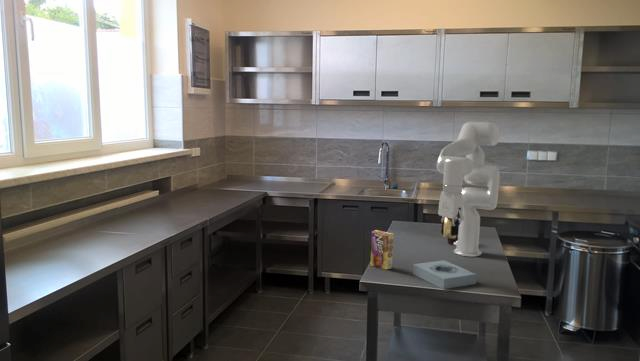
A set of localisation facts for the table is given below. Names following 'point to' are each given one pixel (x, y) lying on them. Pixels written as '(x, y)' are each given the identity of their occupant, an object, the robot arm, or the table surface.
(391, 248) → the candy box
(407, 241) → the table surface
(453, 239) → the coffee mug
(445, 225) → the bushing
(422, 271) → the plate
